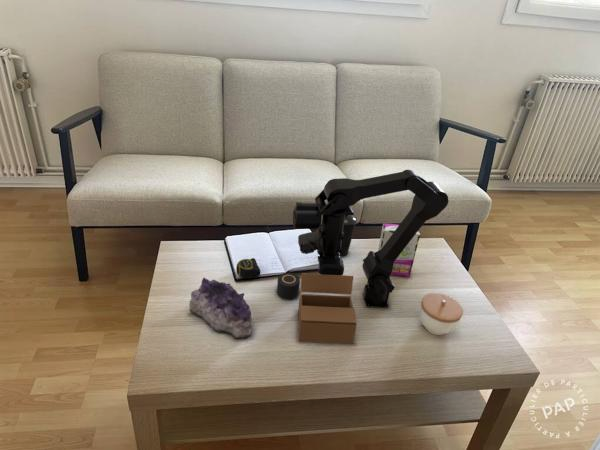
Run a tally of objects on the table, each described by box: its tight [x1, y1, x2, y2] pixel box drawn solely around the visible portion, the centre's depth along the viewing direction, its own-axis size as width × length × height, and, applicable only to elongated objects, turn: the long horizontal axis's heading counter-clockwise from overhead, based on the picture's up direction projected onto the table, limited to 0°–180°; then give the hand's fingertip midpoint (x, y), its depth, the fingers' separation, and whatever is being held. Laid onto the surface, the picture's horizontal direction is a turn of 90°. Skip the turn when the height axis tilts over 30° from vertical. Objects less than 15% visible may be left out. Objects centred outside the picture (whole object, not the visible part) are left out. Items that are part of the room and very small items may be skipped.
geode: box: [188, 277, 254, 340], centre depth 109 cm, size 20×12×10 cm, turn 53°
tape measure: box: [235, 257, 261, 279], centre depth 127 cm, size 7×7×4 cm
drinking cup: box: [339, 214, 358, 258], centre depth 137 cm, size 8×8×20 cm
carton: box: [297, 293, 358, 345], centre depth 109 cm, size 14×11×7 cm
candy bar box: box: [377, 222, 421, 278], centre depth 131 cm, size 11×5×16 cm, turn 84°
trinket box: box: [419, 292, 464, 336], centre depth 112 cm, size 11×11×9 cm
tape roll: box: [276, 272, 301, 301], centre depth 121 cm, size 6×6×5 cm
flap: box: [299, 272, 355, 296], centre depth 111 cm, size 14×5×1 cm
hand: (325, 275), depth 115 cm, fingers closed
